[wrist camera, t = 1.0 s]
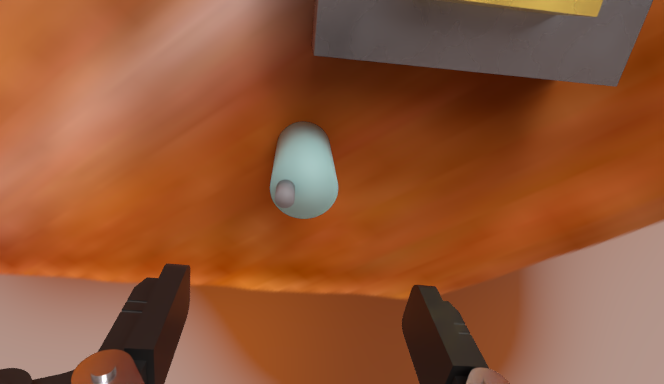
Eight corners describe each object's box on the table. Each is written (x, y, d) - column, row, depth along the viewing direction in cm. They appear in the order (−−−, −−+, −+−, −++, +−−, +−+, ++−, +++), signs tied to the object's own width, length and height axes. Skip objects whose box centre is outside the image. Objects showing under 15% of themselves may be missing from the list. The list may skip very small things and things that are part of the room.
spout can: (332, 123, 31) (344, 169, 22) (327, 173, 33) (336, 233, 24) (278, 119, 31) (269, 164, 22) (276, 169, 33) (266, 229, 24)
